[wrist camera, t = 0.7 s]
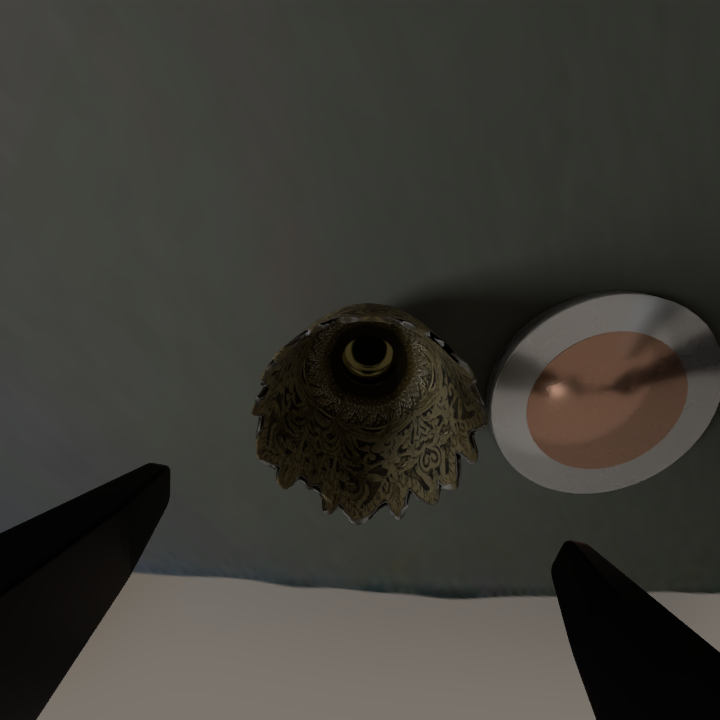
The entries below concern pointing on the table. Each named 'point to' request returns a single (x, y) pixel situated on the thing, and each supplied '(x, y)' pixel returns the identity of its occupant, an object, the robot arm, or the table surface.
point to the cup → (368, 413)
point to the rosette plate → (603, 390)
